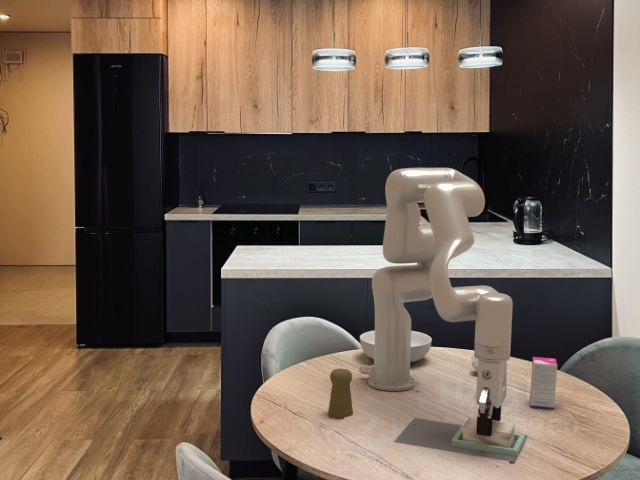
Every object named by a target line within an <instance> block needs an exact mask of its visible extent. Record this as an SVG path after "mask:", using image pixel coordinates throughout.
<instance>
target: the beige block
mask: <svg viewBox="0 0 640 480" xmlns="http://www.w3.org/2000/svg"><path fill="white" fill-rule="evenodd" d="M462 425H463V441H470V442H476V443H482V444H488V445H495V446H501V447H507V448H511V446H512V444H513V442H514V433H515V429H516V428H515V427H516V424H515V423H512V422H511V423H510V422H504V421H494V420H493V422H492V435H491V436H490V437H489V436H483V435H477V433H476V429H477V417H471V416H469V417H468V419H466V421H465V423H464V424H462Z"/></svg>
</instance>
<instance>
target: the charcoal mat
mask: <svg viewBox="0 0 640 480" xmlns="http://www.w3.org/2000/svg"><path fill="white" fill-rule="evenodd" d="M462 425H463V424H456V423H448V422H444V421H436V420H429V419H423V418H416V417H414V418H413V419H412V420H411V421H410V423H408V425H406V426H405V428H404V429H403V430H402V431H401V433H399V435H398V436H397V437H396V438H395V439H394V440H393V442H394V443H396V444H397V443H398V444H404V445H408V446H409V445H411V446H415V447H422V448H428V449H435V450H439V451H446V452H453V453H459V454H462V455H463V454H464V455H471V456H477V457H482V458H483V457H484V458H489V459H495V460H501V461H506V462H508V463H509V464H515V463H516V460H517V459H518V458H519V455H520V453H521V451H522V449H523V446H524V444H525V442H526V439H528V435H527V434H524V435H525V441H524V443H523V445H522V447H521V449H520V451H519V453H518V455H517V456H511V455H505V454H499V453H493V452H487V451H481V450H474V449H468V448H462V447H456V446H451V440H452V439H453V437H454V436H455V435H456V433H457V432H458V430H459V429H460V427H461V426H462ZM460 440H463V436H462V438H461V439H460ZM516 442H517V440H514V442H513V444H512V446H511V448H514V446H515V444H516Z"/></svg>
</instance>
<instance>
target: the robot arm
mask: <svg viewBox="0 0 640 480" xmlns="http://www.w3.org/2000/svg"><path fill="white" fill-rule="evenodd" d="M385 199H386V200H385V201H386V217H385V224H384V232H383V241H382V256H383V258H384V260H386V262H388V263H391V264H396V265H390V266H384V267H381V268H379V269H377V270H376V271H375V272H374V274H373V275H372V279H371V290H372V295H373V301H374V303H373V304H374V331H375V345H374V359H373V364H371V365H367V364H360V365H359V368H358V369H359V372H360V374H361V375H362V374H363V375H369V377H368V378H367V385H368V386H370V387H371V388H373V389H377V390H381V391H387V392H401V391H408V390H410V389H414V387H415V386H416V379H415V378H414V377H413V376H411V362H410V351H411V331H412V318H411V315H410V313H409V311H408V310H407V309H406V307H405V305H404V303H409V302H410V303H411V302H420V301H426V300H430V299H432V300H433V303H434V307H435V310H436V311H437V313H438V315H439V317H441V319H442V320H443V321H446V322H449V323H458V322H459V323H460V322H469V321H475V329H474V330H475V331H474V353H473V354H474V357H475V358H476V359H478V360H479V363H478V373H477V378H476V395H475V399H476V401H475V402H476V404H477V405H478V410H477V414H476V418H477V429H476V433H477V435H483V436H489V437H490V436H491V435H492V422H493V421H499V422H501V419H502V418H501V417H502V404H503V403H504V401H505V399H506V397H507V394H508V393H507V390H508V389H507V388H508V387H507V384H508V383H507V382H508V381H507V378H508V377H507V375H508V371H507V370H508V369H507V368H508V366H507V365H508V363H507V362H508V361H510V360H511V347H512V346H511V343H512V324H513V323H512V322H513V304H514V303H513V299H512V297H511V296H509V294H506V293H501V292H498V291H497V290H496V289H495V288H493V287H492V286H489V285H470V286H469V285H467V286H456V287H452V283H451V281H450V277H449V270H448V268H449V264H450V261H451V260H452V259H454V258H456V257H458V256H460V255H462V254H464V253H466V252H467V251H469V250H470V249H471V248H472V247H473V245H474V244H475V238H474V234H473V231H472V227H471V225H470V221H469V218H470V217H477V216H479V215H480V214H481V213H483V211H484V208H485V204H486V199H485V194H484V192H483V189H482V188H481V186H480V185H479V184H478V183H477V182H476V181H475V180H474V179H472V178H470V177H469V176H467V175H465V174H463V173H461V172H460V171H459V170H456V169H455V168H450V167H408V168H407V167H406V168H398V169H395V170H393V171H392V172H391V173H390V174H389V175H388V176H387V179H386V182H385ZM418 203H423V204H424V207H425V210H426V213H427V214H426V215H427V216H428V220H429V224H430V225H420V221H421V209H420V206H419V204H418ZM468 217H469V218H468ZM397 264H399V265H397ZM400 264H401V265H400ZM402 264H403V265H402ZM405 264H407V265H405Z"/></svg>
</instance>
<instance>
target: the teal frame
mask: <svg viewBox="0 0 640 480" xmlns="http://www.w3.org/2000/svg"><path fill="white" fill-rule="evenodd" d="M461 425H462V426H461V427H460V429H459V430H458V432H457V433H456V435H455V436H454V437H453V439H452V440H451V446H456V447H462V448H468V449H474V450H481V451H487V452H493V453H499V454H505V455H511V456H517V455H518V453H519V451H520V449H521V450H522V448H523V446H524V444H525V442H526V440H525V435H526V434H522V433H517V432H514V440H517V442H516V444H515V446H514V448H507V447H501V446H495V445H488V444H482V443H476V442H470V441H463V440H460V439H461V438H462V436H463V425H464V424H461ZM524 441H525V442H524ZM523 443H524V444H523ZM522 445H523V446H522ZM521 447H522V448H521ZM520 452H521V451H520ZM519 454H520V453H519ZM518 456H519V455H518Z"/></svg>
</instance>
